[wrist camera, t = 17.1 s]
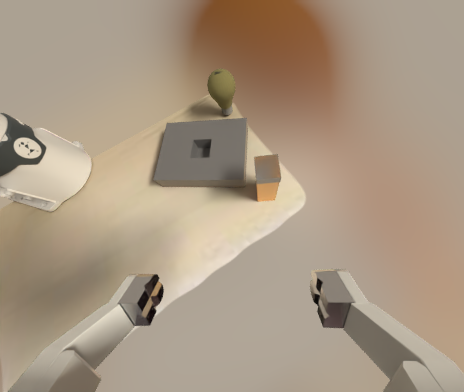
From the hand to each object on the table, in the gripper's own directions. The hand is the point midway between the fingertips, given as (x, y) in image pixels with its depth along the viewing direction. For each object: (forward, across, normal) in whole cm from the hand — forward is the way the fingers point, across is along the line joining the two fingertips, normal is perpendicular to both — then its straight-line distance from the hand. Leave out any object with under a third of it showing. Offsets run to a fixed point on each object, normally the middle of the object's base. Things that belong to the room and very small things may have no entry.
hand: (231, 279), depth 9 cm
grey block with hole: (+31, +8, 0) cm, 32 cm away
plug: (+24, -4, +6) cm, 25 cm away
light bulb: (+39, +3, -8) cm, 40 cm away
